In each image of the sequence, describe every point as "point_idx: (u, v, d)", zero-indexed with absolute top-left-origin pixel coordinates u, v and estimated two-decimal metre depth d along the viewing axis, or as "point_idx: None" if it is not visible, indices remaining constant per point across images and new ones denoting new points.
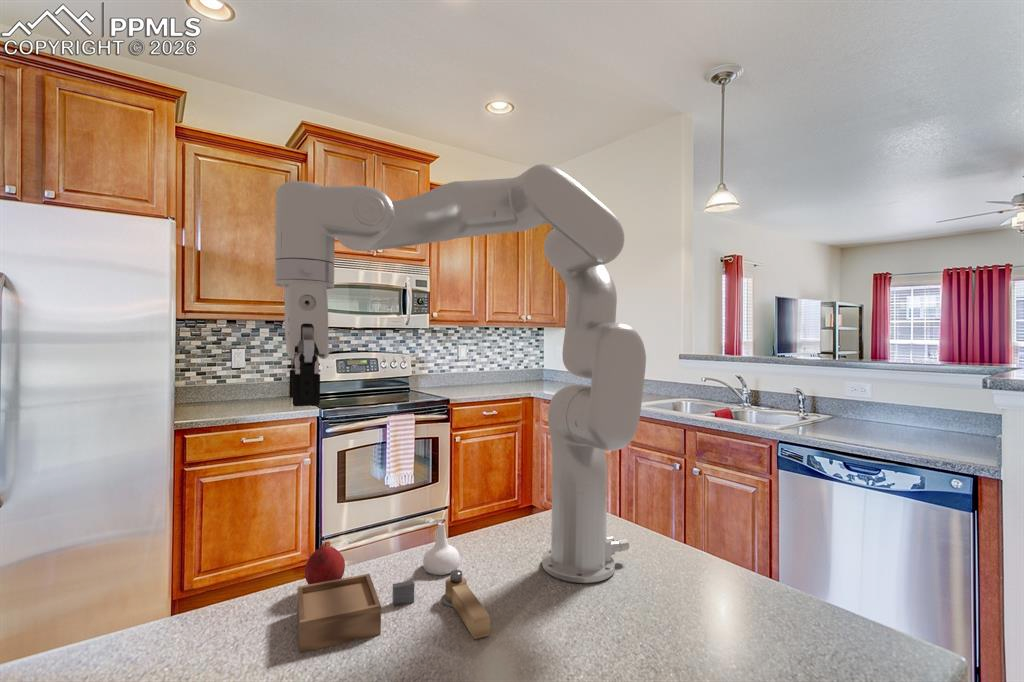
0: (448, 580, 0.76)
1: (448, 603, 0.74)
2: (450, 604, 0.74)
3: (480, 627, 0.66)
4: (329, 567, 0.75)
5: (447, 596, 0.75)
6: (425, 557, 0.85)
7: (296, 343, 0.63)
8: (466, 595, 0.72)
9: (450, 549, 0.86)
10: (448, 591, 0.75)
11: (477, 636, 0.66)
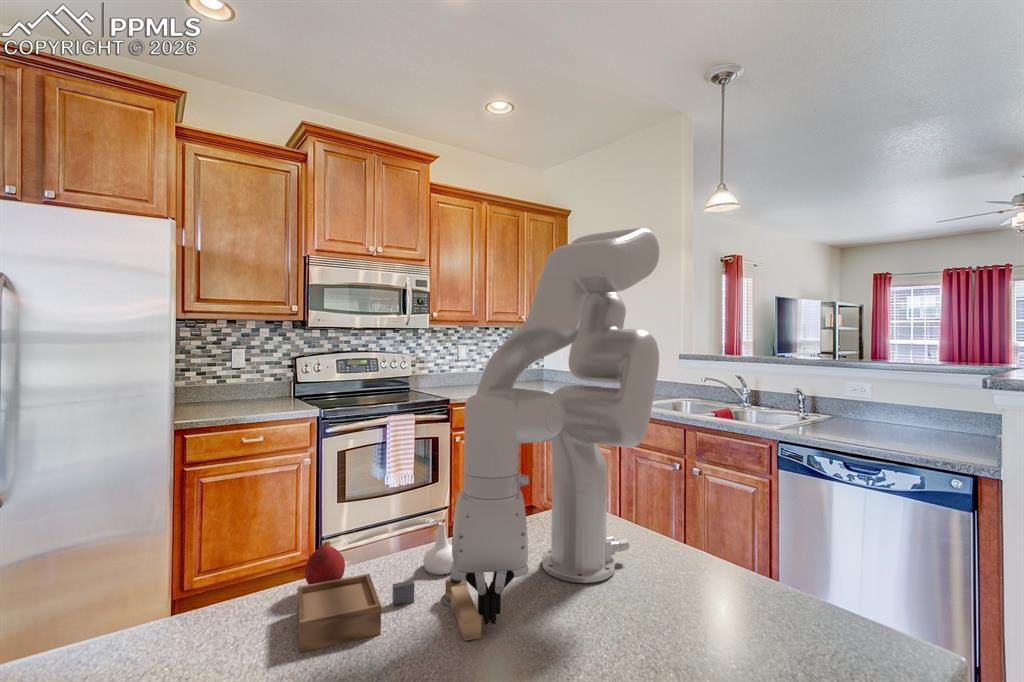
0: (448, 580, 0.76)
1: (448, 603, 0.74)
2: (450, 604, 0.74)
3: (471, 629, 0.65)
4: (329, 566, 0.75)
5: (446, 596, 0.75)
6: (425, 557, 0.85)
7: None
8: (462, 595, 0.72)
9: (450, 549, 0.86)
10: (447, 590, 0.75)
11: (467, 638, 0.65)
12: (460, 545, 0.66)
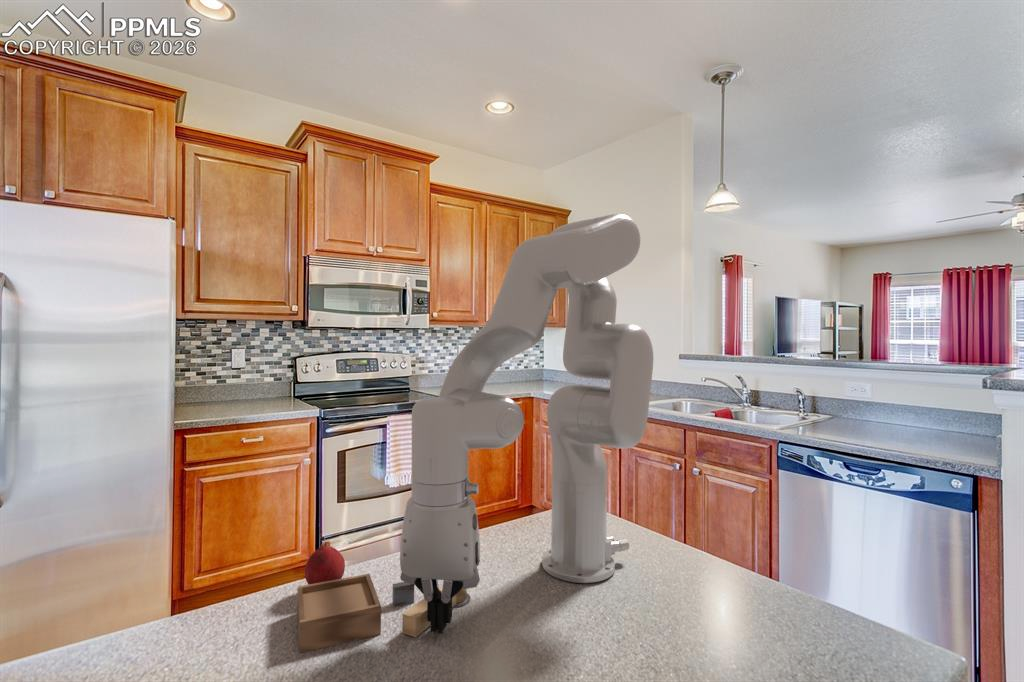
0: None
1: None
2: None
3: (407, 624, 0.66)
4: (329, 566, 0.75)
5: None
6: None
7: None
8: None
9: None
10: None
11: (404, 631, 0.67)
12: (404, 549, 0.66)
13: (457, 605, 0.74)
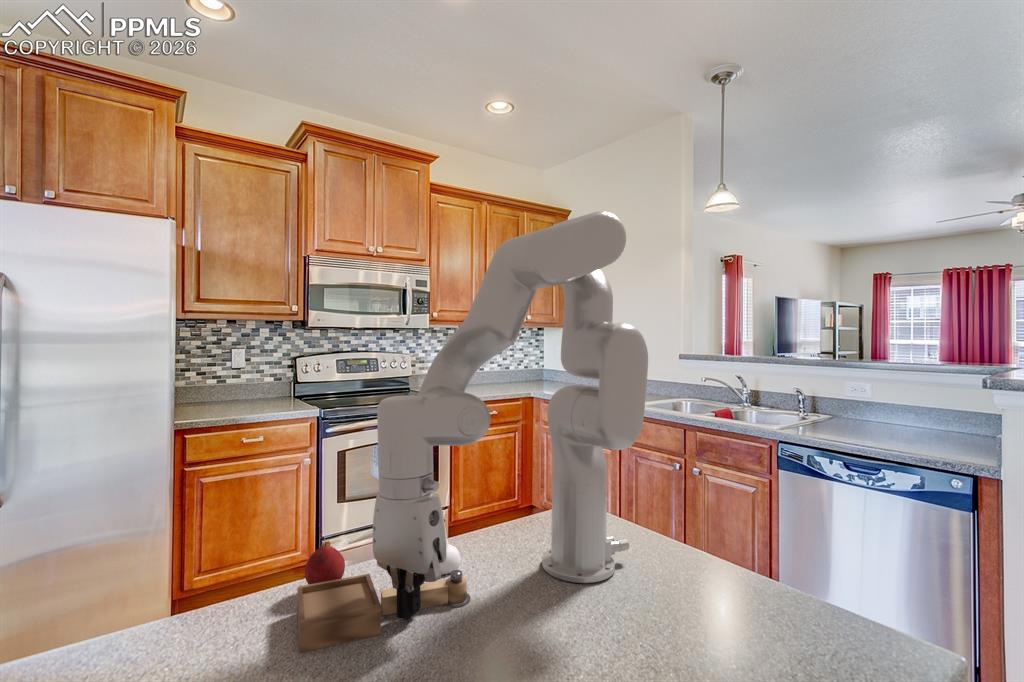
0: None
1: (448, 603, 0.74)
2: (450, 604, 0.74)
3: (381, 601, 0.72)
4: (329, 566, 0.75)
5: None
6: None
7: None
8: (426, 586, 0.74)
9: (450, 549, 0.86)
10: None
11: (381, 607, 0.73)
12: (374, 536, 0.70)
13: (457, 605, 0.74)
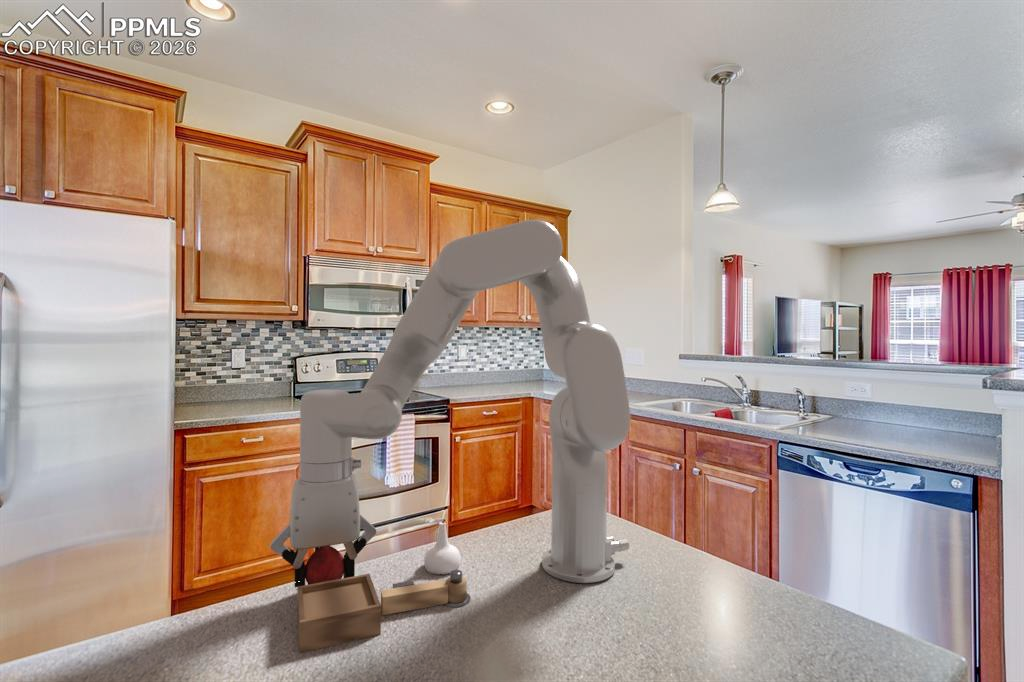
0: None
1: (448, 603, 0.74)
2: (450, 604, 0.74)
3: (381, 601, 0.72)
4: (329, 566, 0.75)
5: None
6: (426, 556, 0.85)
7: None
8: (426, 586, 0.74)
9: (451, 548, 0.86)
10: None
11: (381, 607, 0.73)
12: (296, 525, 0.74)
13: (457, 605, 0.74)
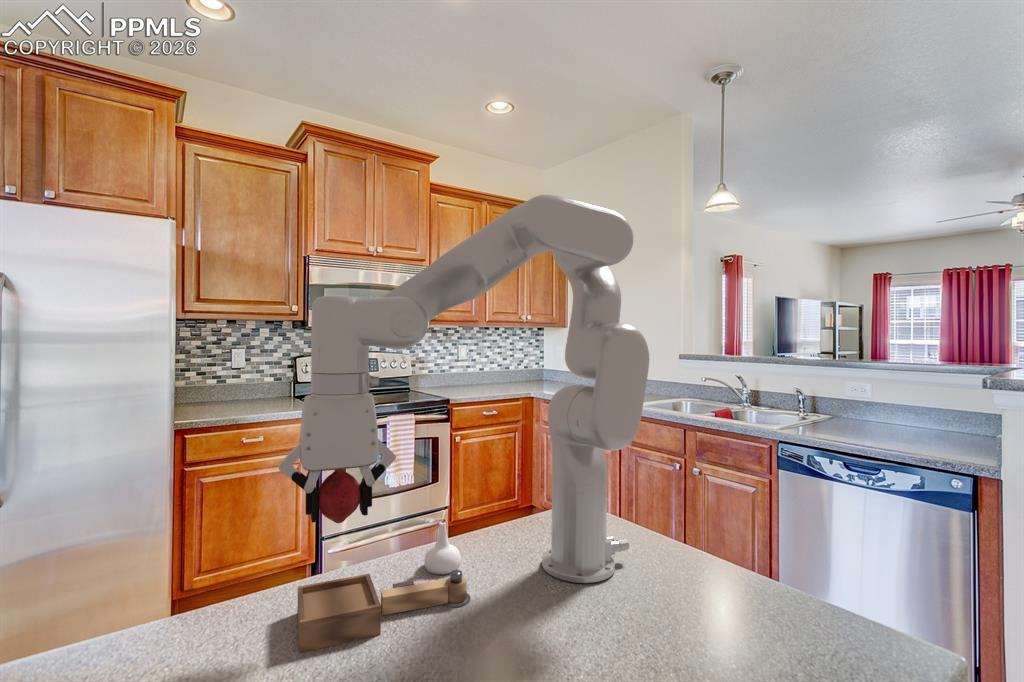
0: None
1: (448, 603, 0.74)
2: (450, 604, 0.74)
3: (381, 601, 0.72)
4: (344, 491, 0.67)
5: None
6: (426, 556, 0.85)
7: None
8: (426, 586, 0.74)
9: (451, 548, 0.86)
10: None
11: (381, 607, 0.73)
12: (307, 443, 0.66)
13: (457, 605, 0.74)
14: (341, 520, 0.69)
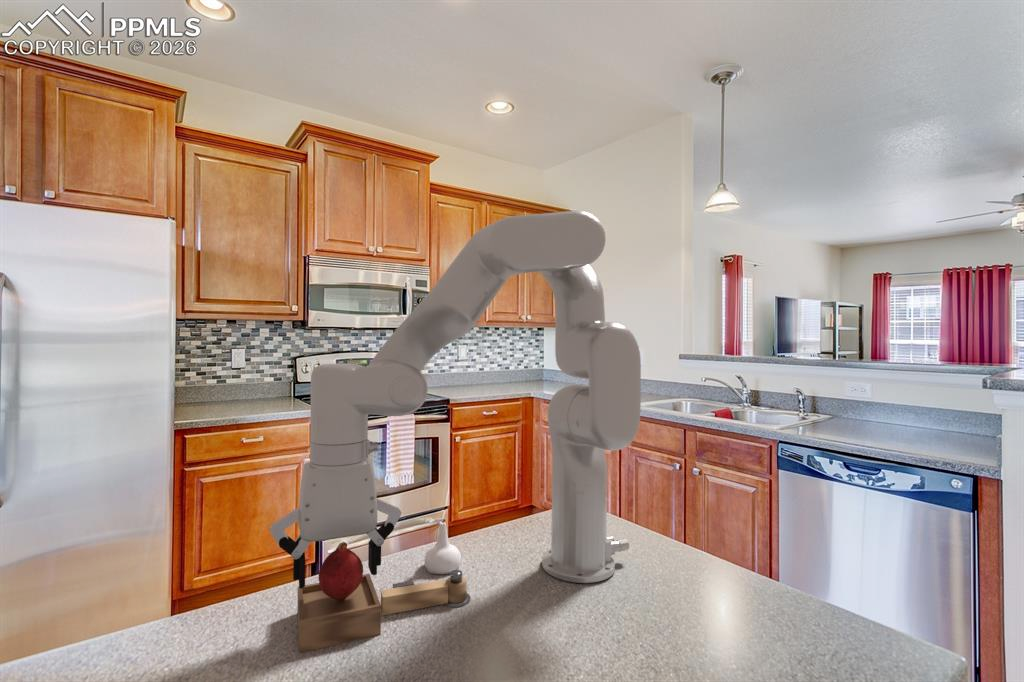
0: None
1: (448, 603, 0.74)
2: (450, 604, 0.74)
3: (381, 601, 0.72)
4: (346, 571, 0.67)
5: None
6: (426, 556, 0.86)
7: (376, 517, 0.70)
8: (426, 586, 0.74)
9: (451, 548, 0.86)
10: None
11: (381, 607, 0.73)
12: (306, 514, 0.66)
13: (457, 605, 0.74)
14: (343, 599, 0.69)
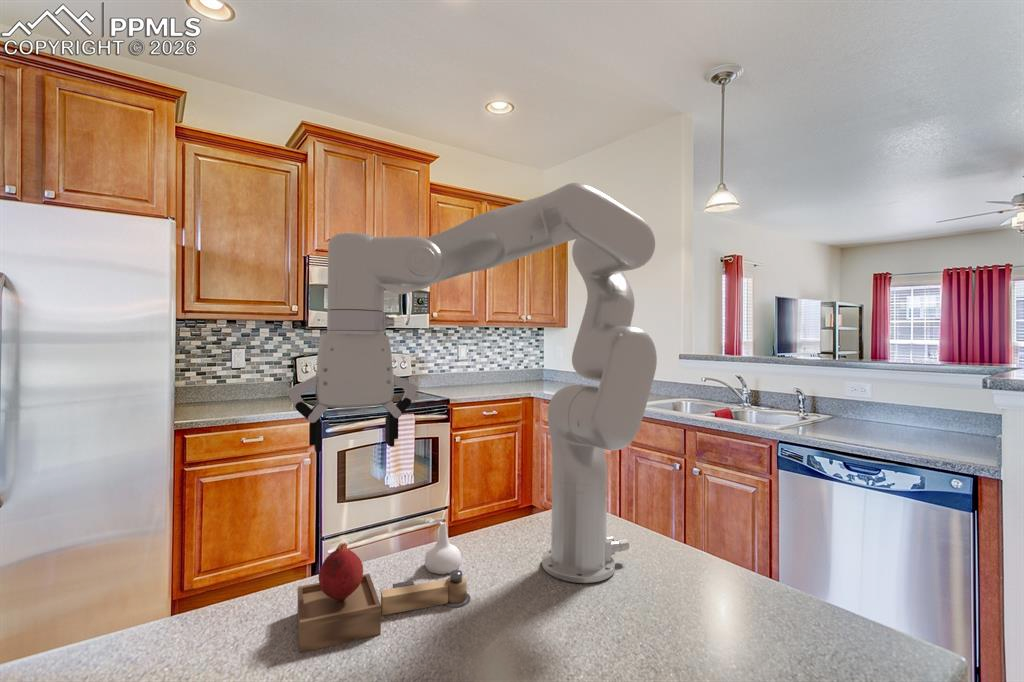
0: None
1: (448, 603, 0.74)
2: (450, 604, 0.74)
3: (381, 601, 0.72)
4: (346, 572, 0.67)
5: None
6: (427, 556, 0.86)
7: None
8: (426, 586, 0.74)
9: (451, 548, 0.86)
10: None
11: (381, 607, 0.73)
12: (324, 378, 0.66)
13: (457, 605, 0.74)
14: (343, 599, 0.69)
